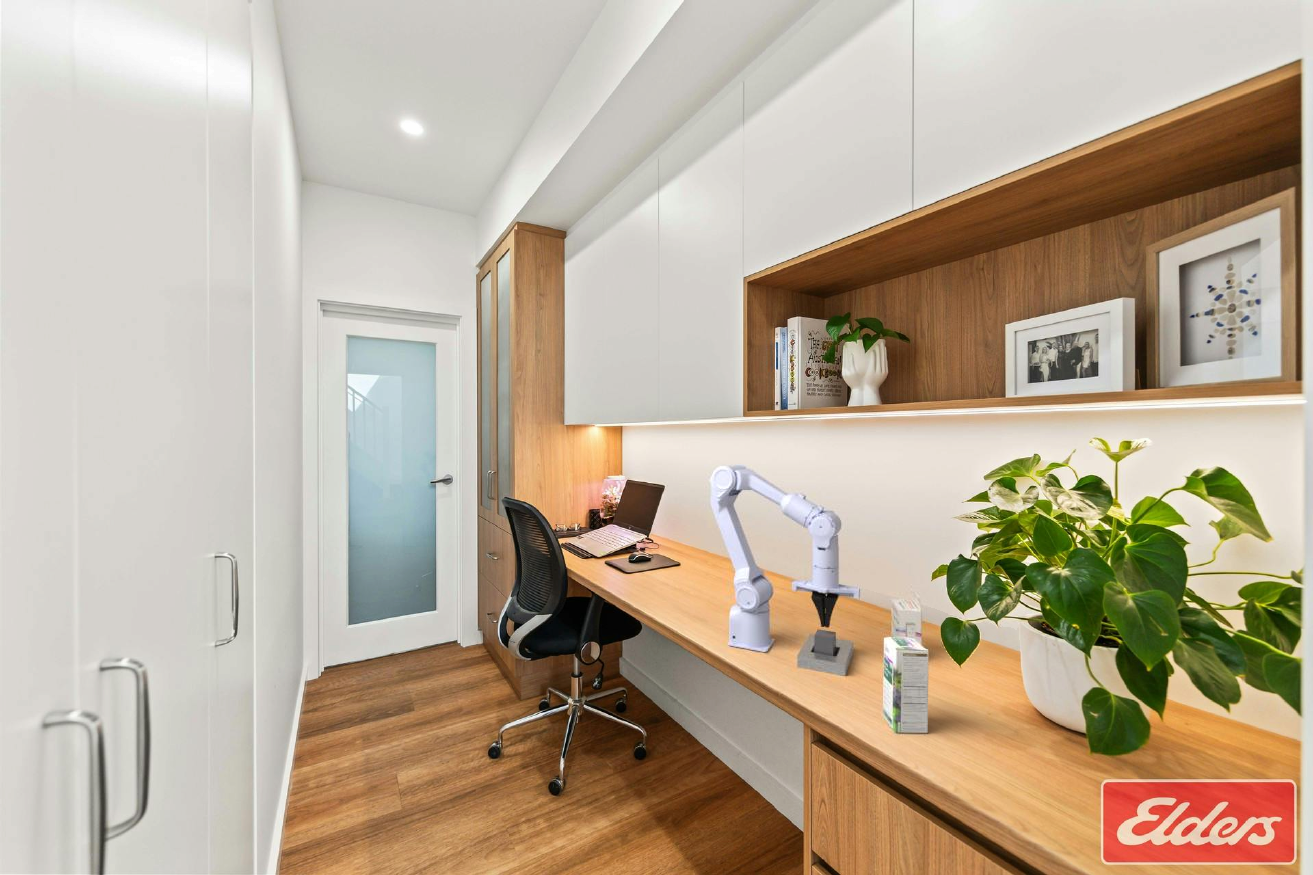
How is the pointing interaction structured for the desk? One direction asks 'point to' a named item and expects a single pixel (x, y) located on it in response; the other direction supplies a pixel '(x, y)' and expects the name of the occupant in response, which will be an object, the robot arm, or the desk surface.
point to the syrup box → (905, 685)
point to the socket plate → (826, 657)
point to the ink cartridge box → (907, 617)
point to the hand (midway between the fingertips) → (825, 625)
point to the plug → (825, 642)
